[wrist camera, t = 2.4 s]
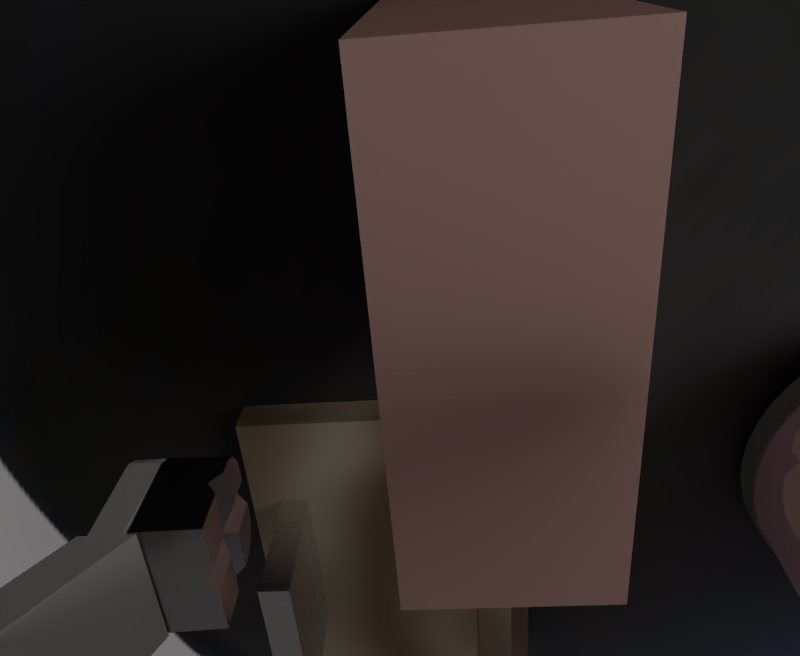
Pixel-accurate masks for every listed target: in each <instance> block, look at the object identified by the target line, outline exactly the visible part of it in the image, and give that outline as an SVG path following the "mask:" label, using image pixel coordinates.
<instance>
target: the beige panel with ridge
mask: <svg viewBox="0 0 800 656" xmlns="http://www.w3.org/2000/svg"><path fill="white" fill-rule="evenodd" d="M236 431H237V436H238V440H239V445H240V449H241V453H242V458H243V462H244V467H245V471H246V476H247V480H248V484H249V489H250V493H251V498H252V502H253V507H254V511H255V515H256V520H257V524H258V529H259V533H260V538H261V542H262V546H263V551H264V555H265V560H266V558H267V554H268V550H269V547H270V543H271V539H272V535H273V532H274V528H275V524H276V520H277V517H278V513H279V509H280V505H281V502H282V501H285V500H309V503H310V508H311V514H312V520H313V525H314V531H315V536H316V542H317V548H318V553H319V559H320V565H321V570H322V576H323V582H324V587H325V593H326V598H327V604H328V610H329V615H328V621H327V628H326V635H325V642H324V648H323V655H322V656H528V607H513V608H475V609H437V610H401V605H400V596H399V587H398V578H397V569H396V560H395V551H394V541H393V532H392V523H391V514H390V505H389V496H388V487H387V478H386V469H385V459H384V450H383V441H382V432H381V423H380V414H379V405H378V400H366V401H344V402H323V403H301V404H279V405H258V406H244V407H243V409H242V412H241V414H240V417H239V419H238V422H237V424H236Z"/></svg>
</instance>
